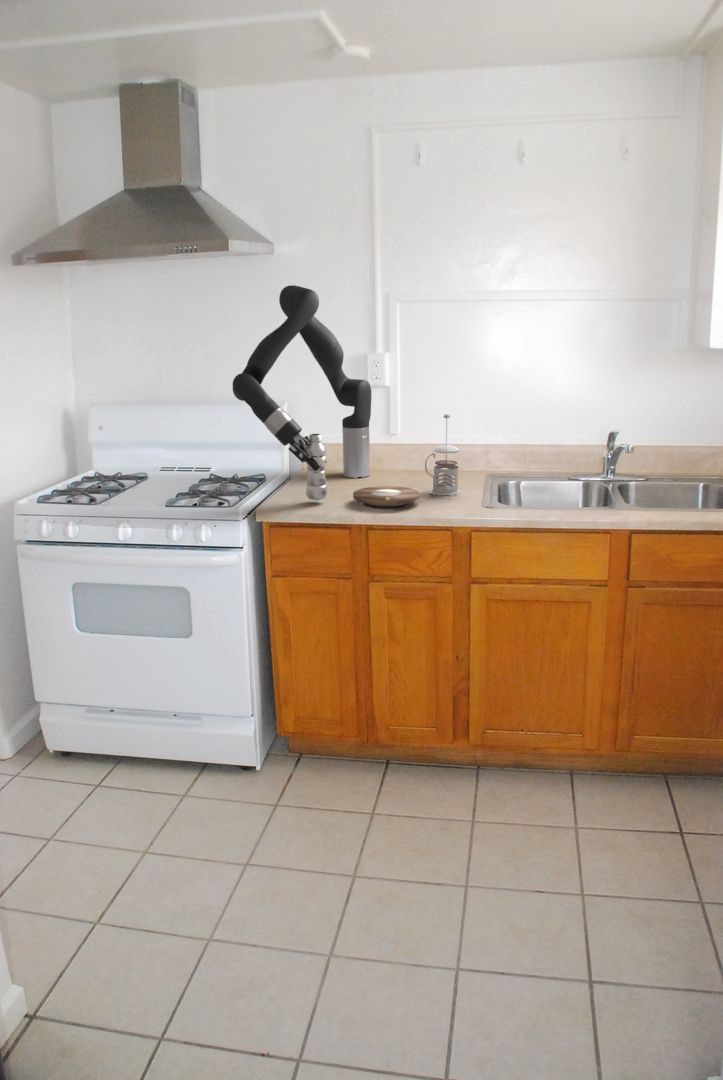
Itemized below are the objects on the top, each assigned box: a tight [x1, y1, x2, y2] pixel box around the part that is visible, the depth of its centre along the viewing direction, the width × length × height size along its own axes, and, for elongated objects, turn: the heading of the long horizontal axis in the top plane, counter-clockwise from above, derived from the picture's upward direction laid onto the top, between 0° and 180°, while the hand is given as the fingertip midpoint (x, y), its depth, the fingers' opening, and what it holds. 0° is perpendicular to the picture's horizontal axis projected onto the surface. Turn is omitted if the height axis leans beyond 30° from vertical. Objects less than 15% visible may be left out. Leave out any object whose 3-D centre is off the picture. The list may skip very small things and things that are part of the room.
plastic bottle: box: [305, 433, 328, 501], centre depth 268 cm, size 6×7×20 cm
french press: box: [424, 413, 461, 496], centre depth 280 cm, size 10×12×25 cm
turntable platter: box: [352, 485, 420, 505], centre depth 269 cm, size 20×20×1 cm
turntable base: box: [362, 503, 410, 510], centre depth 269 cm, size 14×14×2 cm
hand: (321, 466), depth 268 cm, fingers closed on plastic bottle, 6 cm apart
